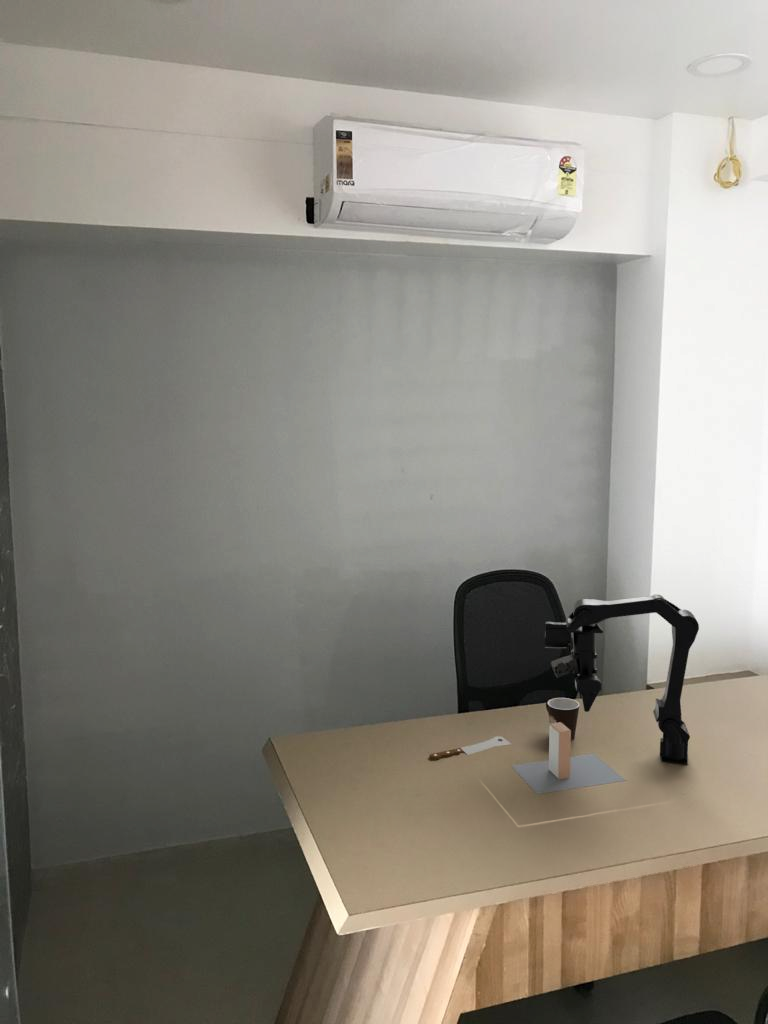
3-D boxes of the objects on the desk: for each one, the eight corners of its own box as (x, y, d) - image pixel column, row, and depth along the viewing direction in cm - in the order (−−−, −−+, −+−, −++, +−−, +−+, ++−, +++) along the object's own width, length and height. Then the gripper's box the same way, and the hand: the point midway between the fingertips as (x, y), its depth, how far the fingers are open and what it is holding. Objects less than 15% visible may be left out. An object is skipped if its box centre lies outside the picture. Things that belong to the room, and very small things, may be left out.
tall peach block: (559, 768, 223) (560, 722, 221) (569, 777, 218) (570, 730, 216) (548, 770, 222) (549, 723, 220) (558, 779, 217) (559, 732, 215)
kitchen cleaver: (443, 767, 224) (425, 750, 233) (442, 771, 224) (424, 754, 233) (522, 750, 234) (502, 735, 243) (522, 754, 234) (502, 738, 243)
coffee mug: (581, 744, 238) (582, 709, 236) (549, 744, 238) (550, 709, 236) (573, 727, 249) (574, 693, 248) (542, 727, 249) (543, 693, 248)
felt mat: (594, 754, 231) (594, 753, 231) (626, 781, 216) (626, 780, 216) (510, 766, 225) (510, 765, 225) (537, 795, 210) (537, 793, 210)
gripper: (549, 637, 238) (550, 692, 240) (556, 659, 220) (557, 718, 222) (591, 637, 237) (591, 691, 239) (601, 659, 219) (601, 718, 221)
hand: (584, 704), depth 231 cm, fingers open, 9 cm apart
